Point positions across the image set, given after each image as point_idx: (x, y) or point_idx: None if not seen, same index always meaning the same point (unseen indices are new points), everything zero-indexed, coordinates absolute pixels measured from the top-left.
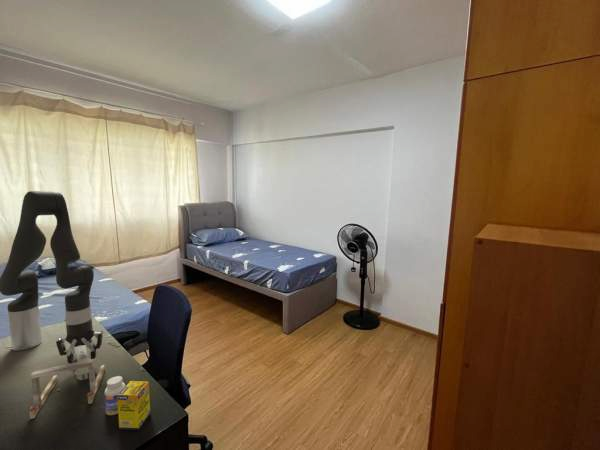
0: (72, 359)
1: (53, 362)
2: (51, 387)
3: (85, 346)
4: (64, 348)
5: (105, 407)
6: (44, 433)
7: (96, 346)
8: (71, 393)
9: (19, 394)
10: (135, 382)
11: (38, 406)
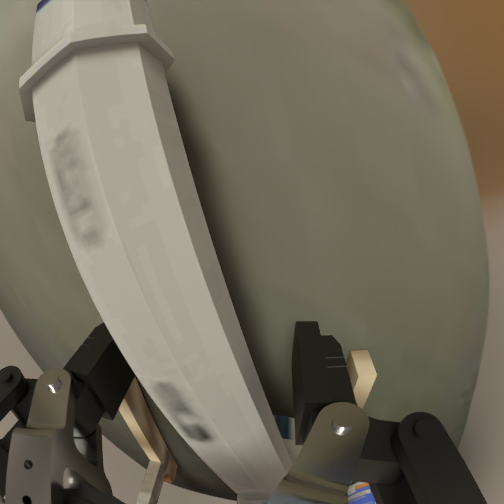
0: (126, 363)
1: (22, 113)
2: (138, 403)
3: (146, 120)
4: (2, 413)
5: (347, 502)
6: (229, 493)
7: (370, 487)
8: None
9: (46, 353)
10: None
11: (167, 466)
